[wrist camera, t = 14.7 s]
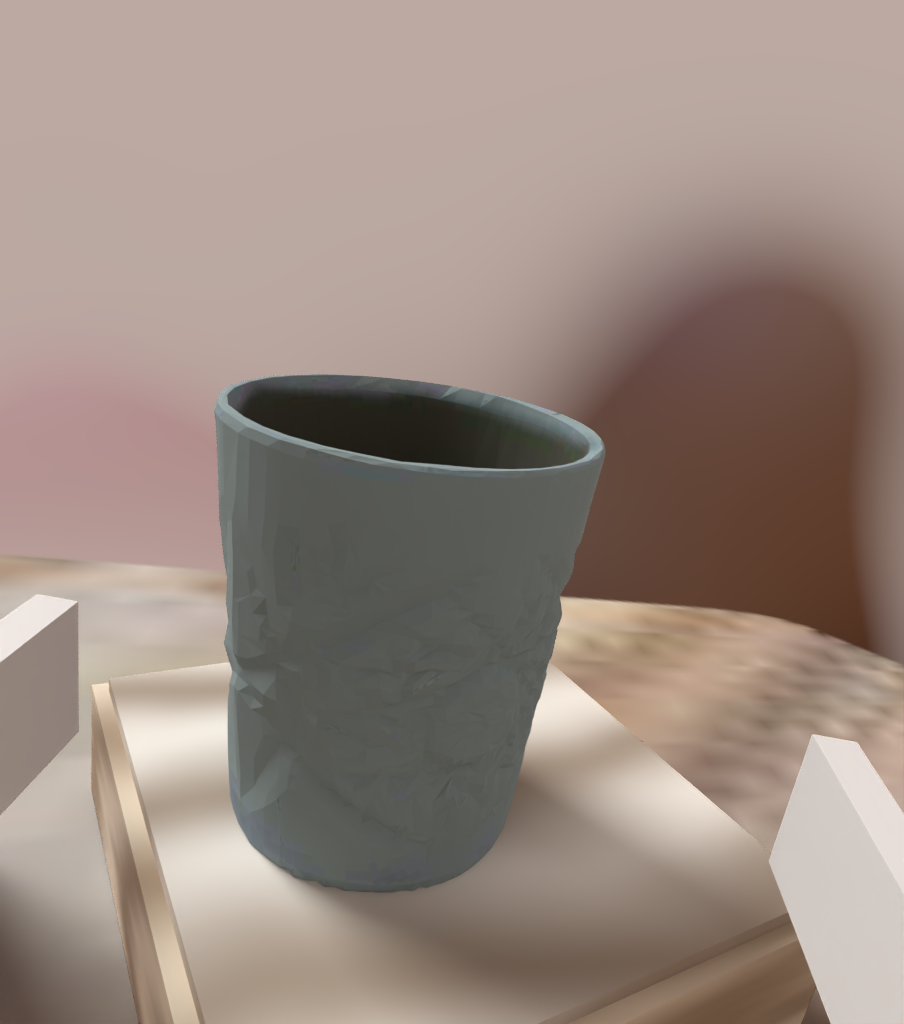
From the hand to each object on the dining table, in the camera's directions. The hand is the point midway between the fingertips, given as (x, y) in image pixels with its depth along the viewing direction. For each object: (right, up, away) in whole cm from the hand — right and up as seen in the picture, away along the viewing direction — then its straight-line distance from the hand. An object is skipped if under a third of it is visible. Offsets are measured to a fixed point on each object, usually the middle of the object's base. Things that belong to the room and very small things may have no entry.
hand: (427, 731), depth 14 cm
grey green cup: (-2, -5, +11) cm, 12 cm away
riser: (-1, -9, +13) cm, 16 cm away
